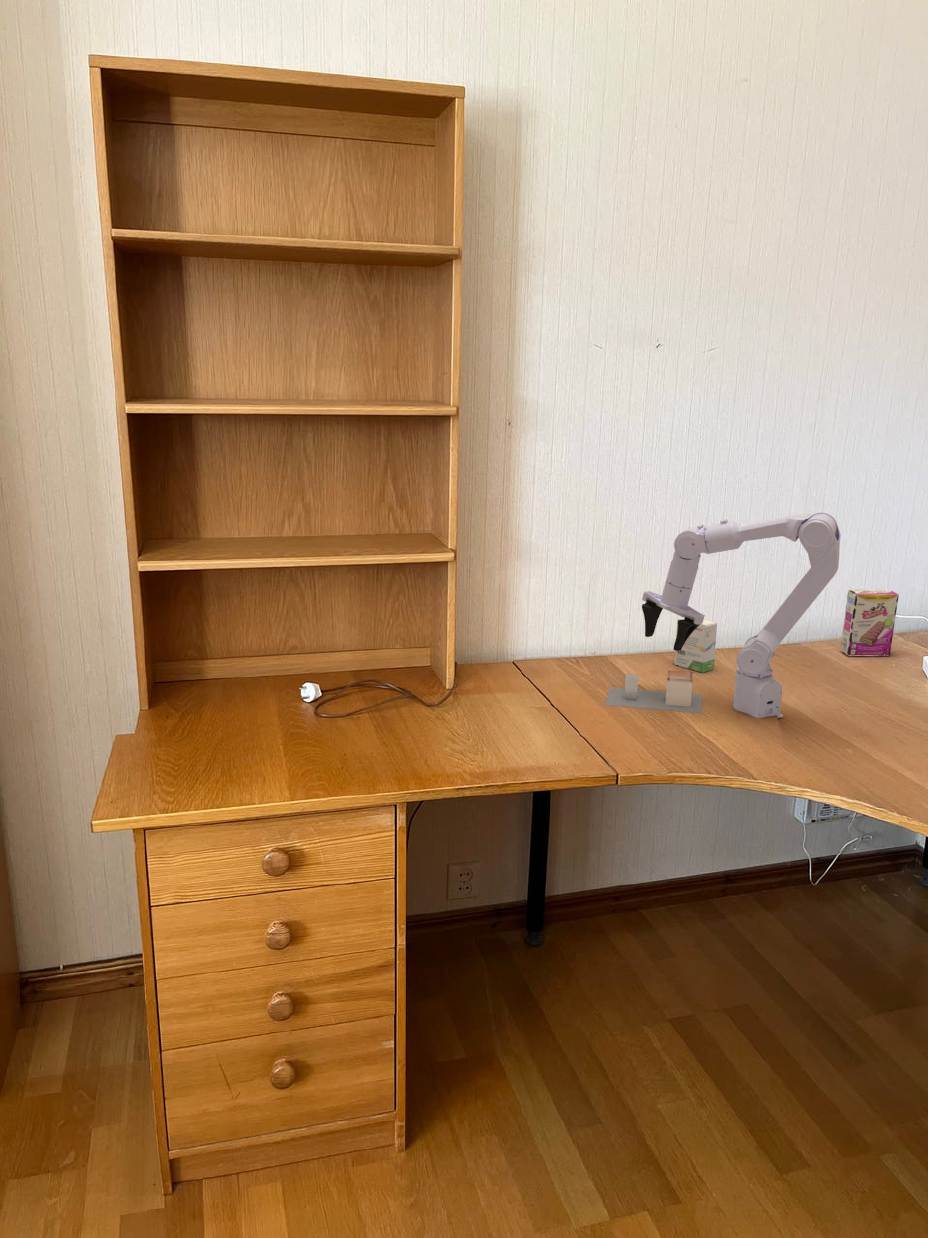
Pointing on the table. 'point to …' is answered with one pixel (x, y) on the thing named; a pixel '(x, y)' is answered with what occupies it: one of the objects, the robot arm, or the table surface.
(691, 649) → the ink box
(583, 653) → the table surface
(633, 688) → the post
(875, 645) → the candy bar box
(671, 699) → the peach bevelled cube
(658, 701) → the board
